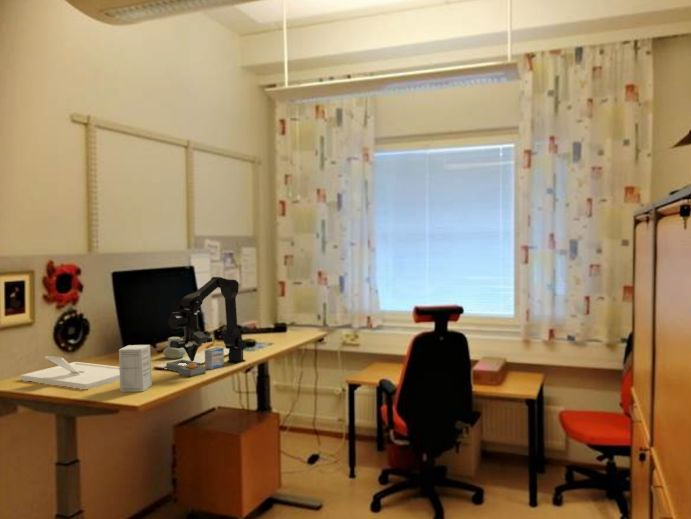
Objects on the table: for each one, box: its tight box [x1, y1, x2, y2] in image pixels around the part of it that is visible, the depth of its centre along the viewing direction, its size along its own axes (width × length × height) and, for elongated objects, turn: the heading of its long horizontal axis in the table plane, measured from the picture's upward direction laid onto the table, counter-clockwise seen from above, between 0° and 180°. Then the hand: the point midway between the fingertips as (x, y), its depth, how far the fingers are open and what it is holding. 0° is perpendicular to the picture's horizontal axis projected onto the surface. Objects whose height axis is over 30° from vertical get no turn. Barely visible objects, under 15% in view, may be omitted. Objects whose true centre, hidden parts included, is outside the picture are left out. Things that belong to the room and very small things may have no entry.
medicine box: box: [204, 346, 225, 370], centre depth 263 cm, size 8×4×9 cm, turn 149°
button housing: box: [178, 365, 207, 378], centre depth 250 cm, size 8×8×3 cm
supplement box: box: [118, 344, 153, 393], centre depth 227 cm, size 10×9×17 cm
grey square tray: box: [163, 359, 203, 373], centre depth 262 cm, size 12×14×2 cm
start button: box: [188, 363, 197, 369], centre depth 250 cm, size 4×4×2 cm
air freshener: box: [162, 336, 187, 360], centre depth 286 cm, size 11×8×10 cm
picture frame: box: [20, 355, 120, 390], centre depth 247 cm, size 40×12×28 cm
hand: (192, 360), depth 250 cm, fingers closed
